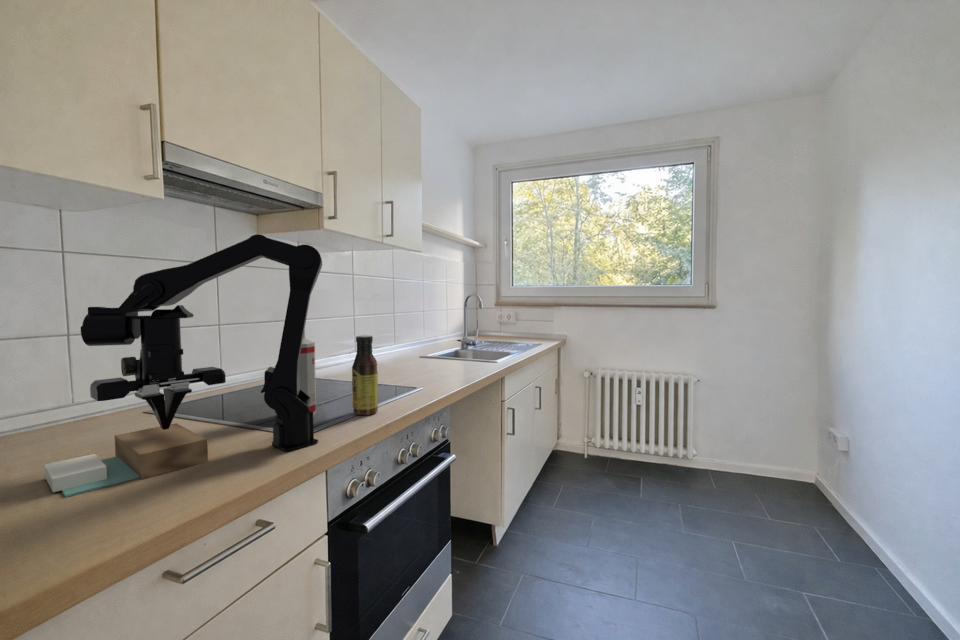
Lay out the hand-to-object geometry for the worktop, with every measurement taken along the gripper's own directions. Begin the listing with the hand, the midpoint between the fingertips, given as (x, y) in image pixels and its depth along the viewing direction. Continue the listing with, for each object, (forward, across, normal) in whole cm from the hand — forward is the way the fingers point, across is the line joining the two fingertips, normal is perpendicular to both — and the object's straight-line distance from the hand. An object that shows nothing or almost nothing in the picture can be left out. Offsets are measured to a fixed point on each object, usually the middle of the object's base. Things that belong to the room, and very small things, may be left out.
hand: (165, 429), depth 75 cm
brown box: (+5, +1, 0) cm, 5 cm away
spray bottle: (+6, -30, -8) cm, 32 cm away
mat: (+5, +10, 0) cm, 11 cm away
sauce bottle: (+6, -41, +4) cm, 42 cm away
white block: (+3, +12, 0) cm, 12 cm away
